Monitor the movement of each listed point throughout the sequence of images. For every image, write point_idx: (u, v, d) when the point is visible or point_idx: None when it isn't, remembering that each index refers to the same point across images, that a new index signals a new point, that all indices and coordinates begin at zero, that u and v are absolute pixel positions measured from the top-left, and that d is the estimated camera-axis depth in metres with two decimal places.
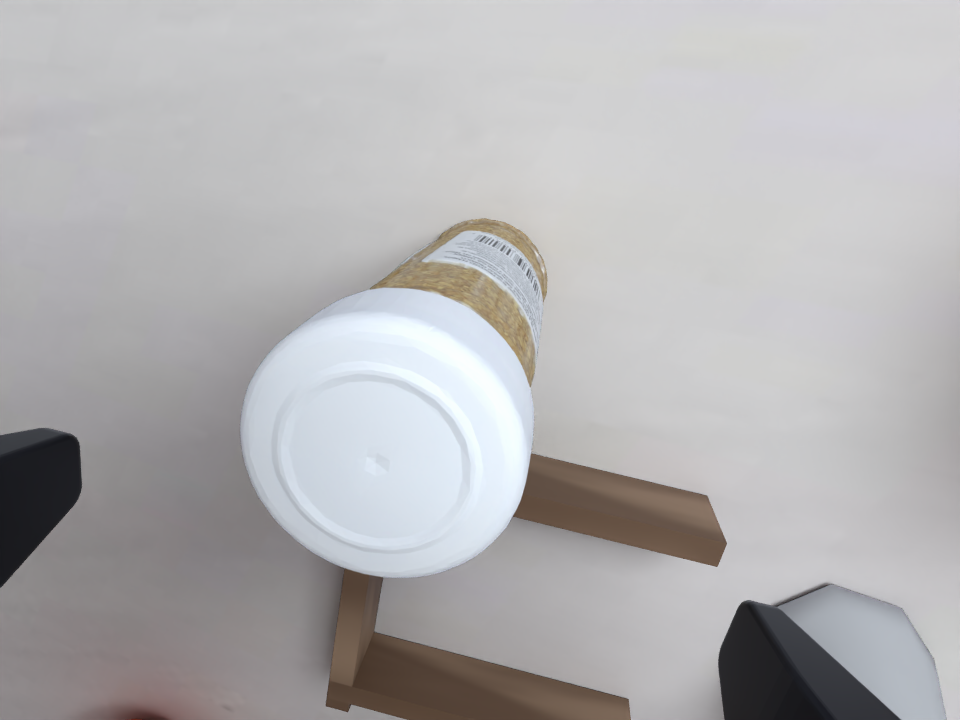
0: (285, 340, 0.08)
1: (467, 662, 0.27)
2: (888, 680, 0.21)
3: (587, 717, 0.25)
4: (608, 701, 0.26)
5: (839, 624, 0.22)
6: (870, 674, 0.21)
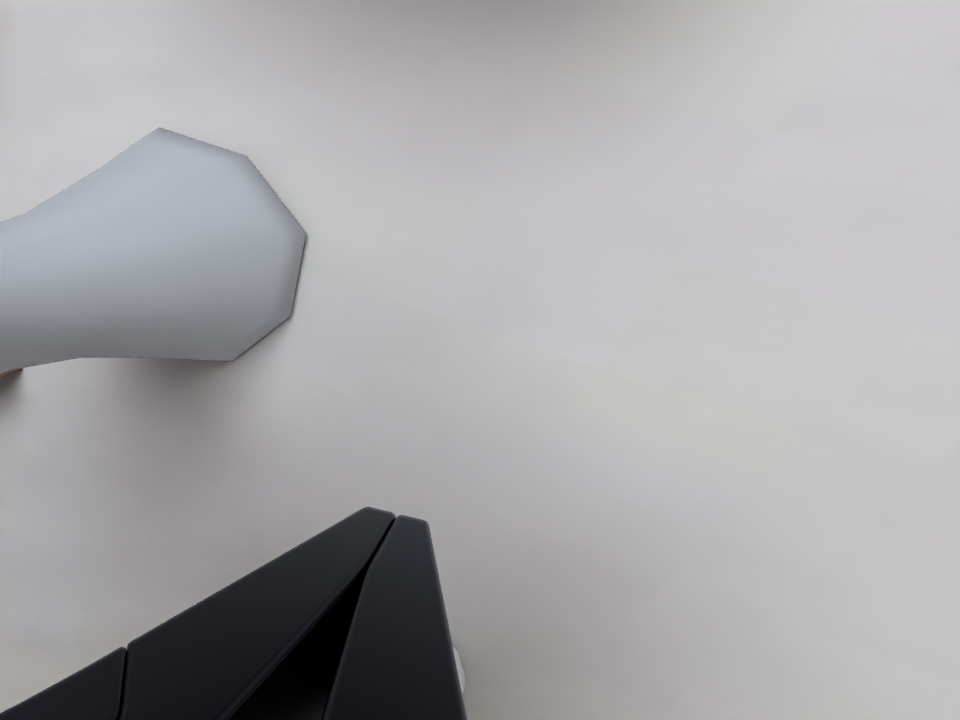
0: None
1: None
2: (124, 179, 0.16)
3: None
4: None
5: None
6: (102, 171, 0.16)
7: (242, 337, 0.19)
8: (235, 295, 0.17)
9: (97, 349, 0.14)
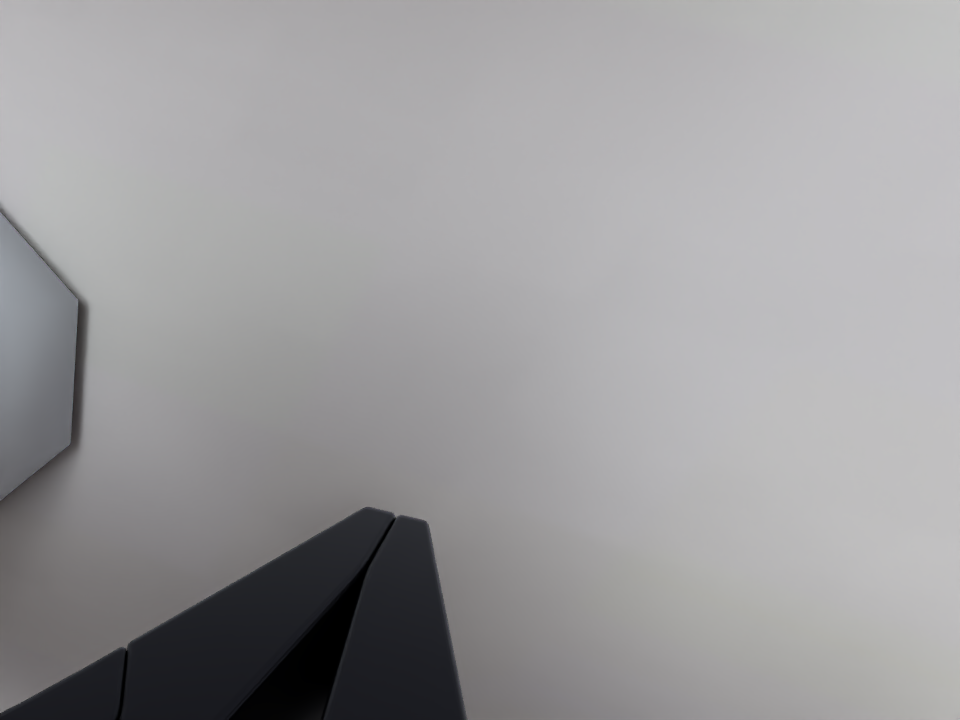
0: None
1: None
2: None
3: None
4: None
5: None
6: None
7: None
8: None
9: None
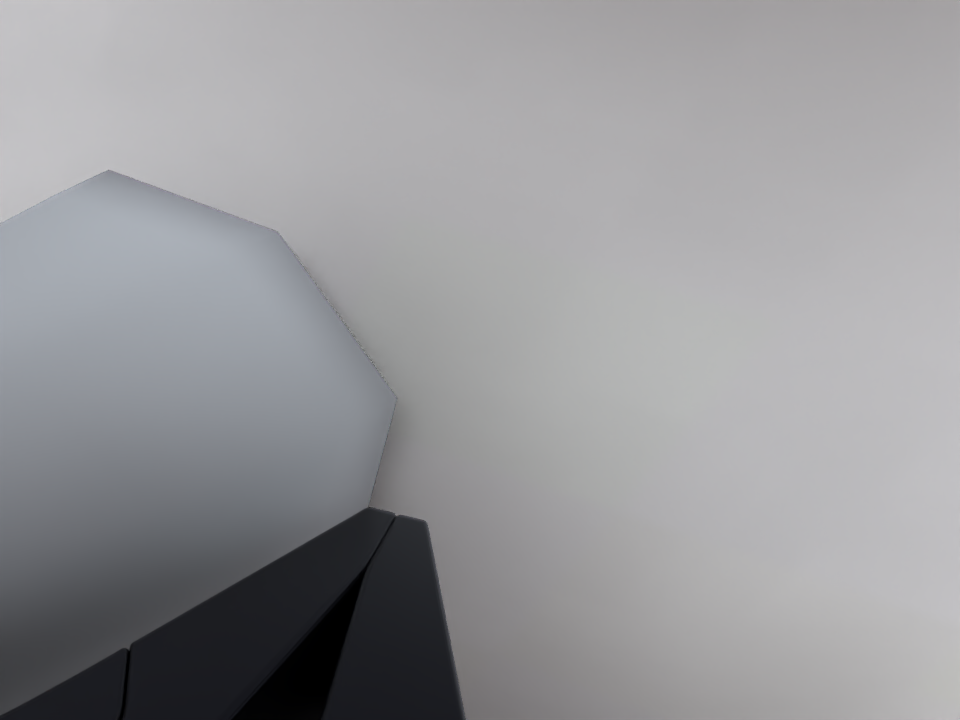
0: None
1: None
2: None
3: None
4: None
5: None
6: None
7: None
8: (222, 575, 0.07)
9: None
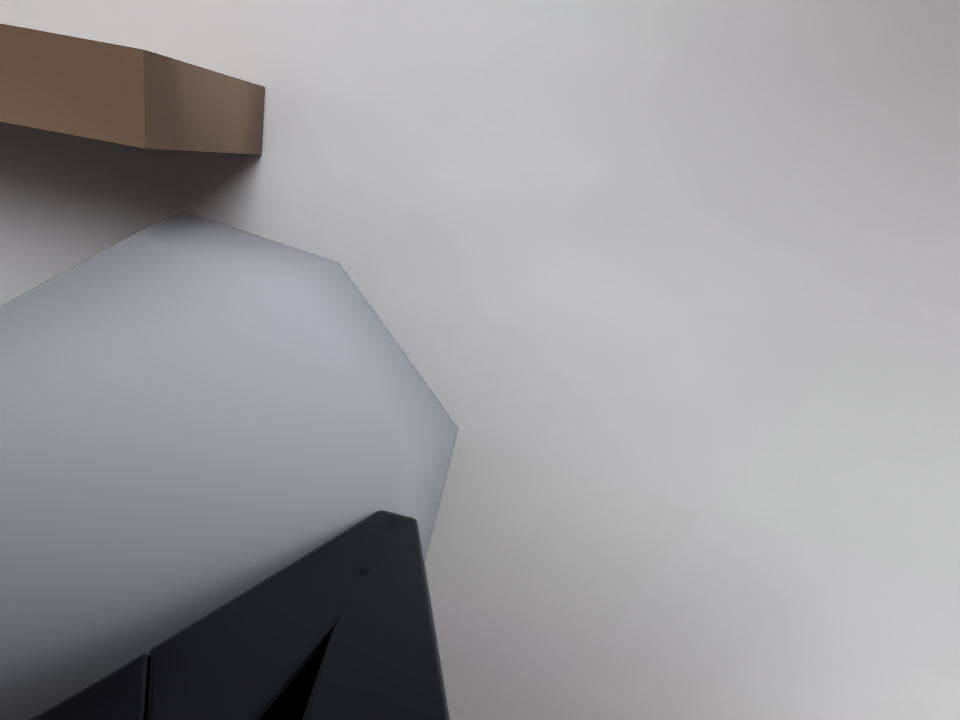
0: None
1: None
2: (29, 343, 0.06)
3: None
4: None
5: None
6: None
7: None
8: None
9: None
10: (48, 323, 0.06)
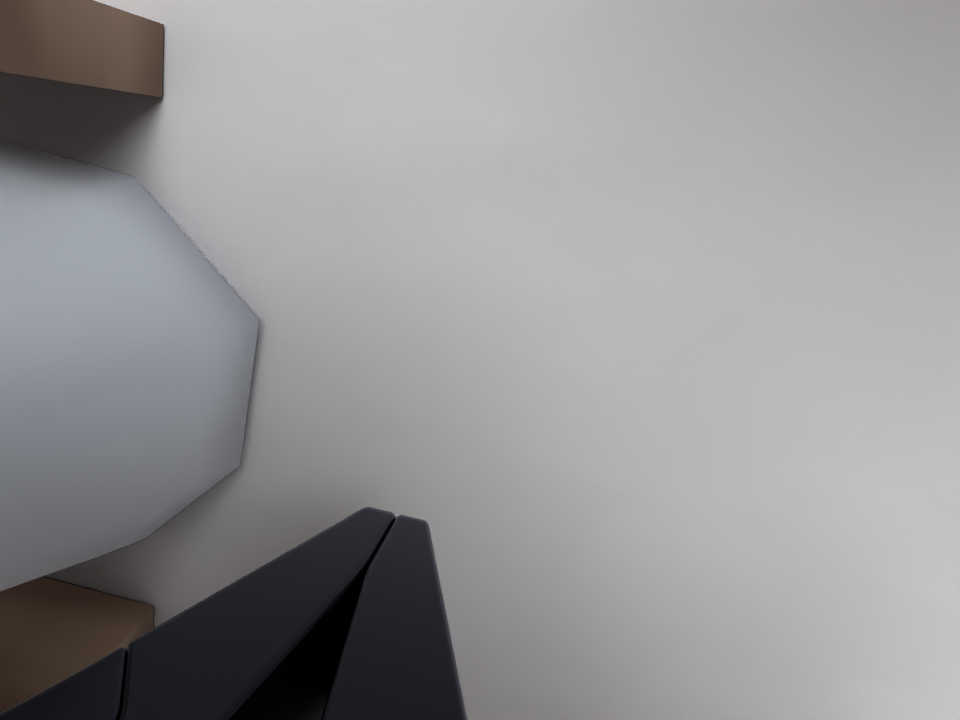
0: None
1: None
2: None
3: (3, 637, 0.11)
4: (98, 608, 0.12)
5: None
6: None
7: (148, 517, 0.10)
8: (106, 469, 0.08)
9: None
10: None
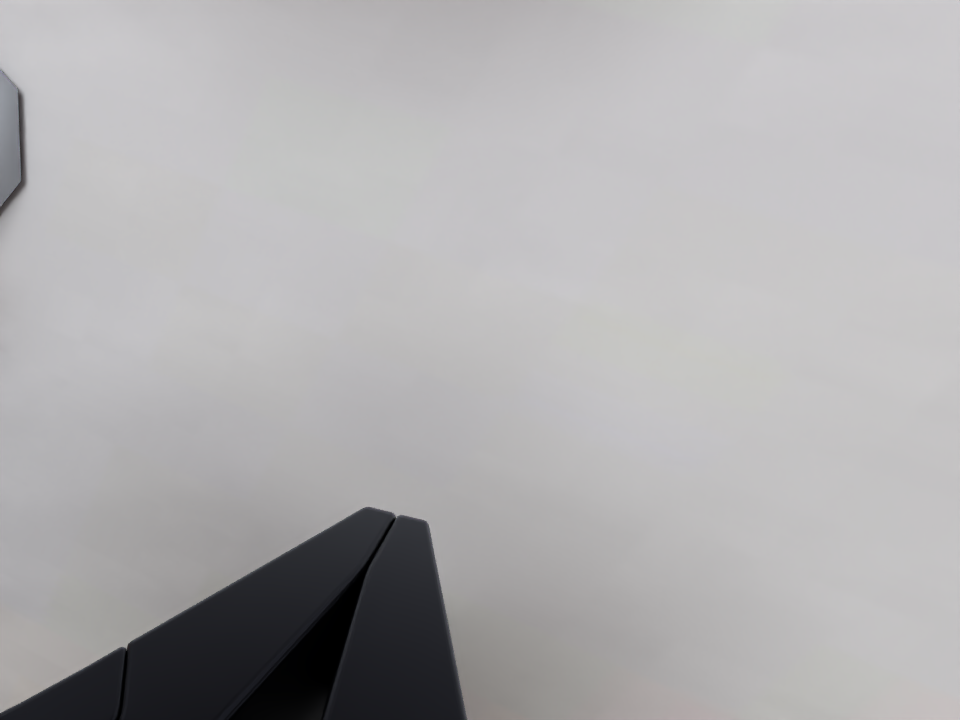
0: None
1: None
2: None
3: None
4: None
5: None
6: None
7: None
8: None
9: None
10: None
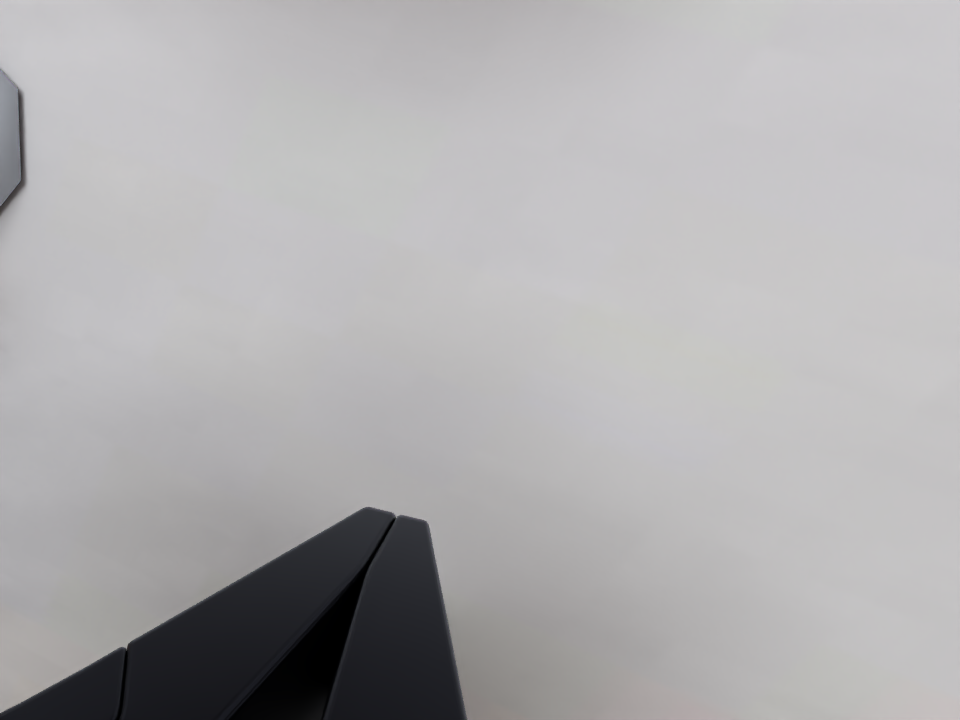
0: None
1: None
2: None
3: None
4: None
5: None
6: None
7: None
8: None
9: None
10: None
